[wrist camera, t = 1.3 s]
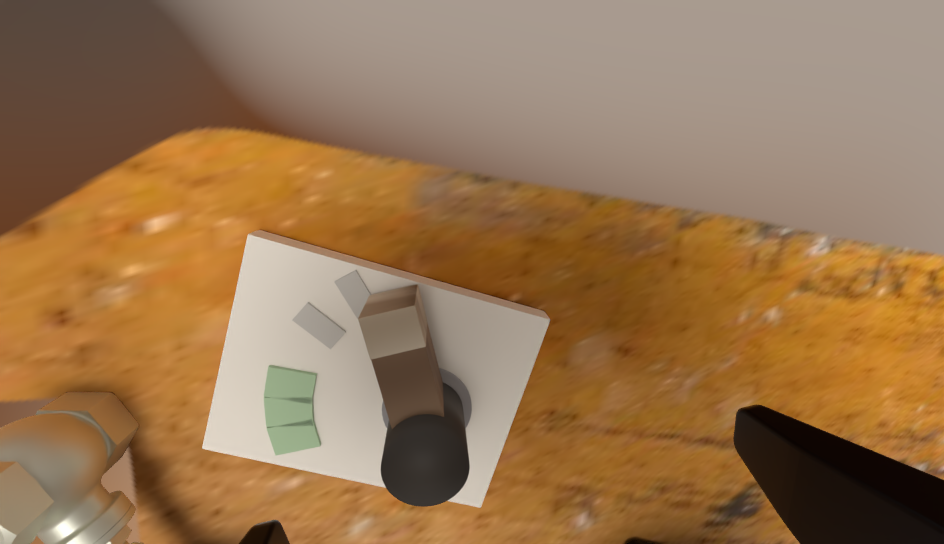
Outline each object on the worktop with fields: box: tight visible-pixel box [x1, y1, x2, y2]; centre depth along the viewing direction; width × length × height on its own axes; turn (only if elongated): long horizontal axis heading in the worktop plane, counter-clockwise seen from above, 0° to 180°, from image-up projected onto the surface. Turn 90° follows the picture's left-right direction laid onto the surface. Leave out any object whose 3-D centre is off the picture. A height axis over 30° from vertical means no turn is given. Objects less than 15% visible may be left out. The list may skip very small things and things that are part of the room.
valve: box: [0, 392, 144, 544], centre depth 19 cm, size 7×7×12 cm
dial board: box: [202, 230, 550, 508], centre depth 20 cm, size 13×10×1 cm
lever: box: [358, 284, 470, 506], centre depth 18 cm, size 7×3×4 cm, turn 12°
